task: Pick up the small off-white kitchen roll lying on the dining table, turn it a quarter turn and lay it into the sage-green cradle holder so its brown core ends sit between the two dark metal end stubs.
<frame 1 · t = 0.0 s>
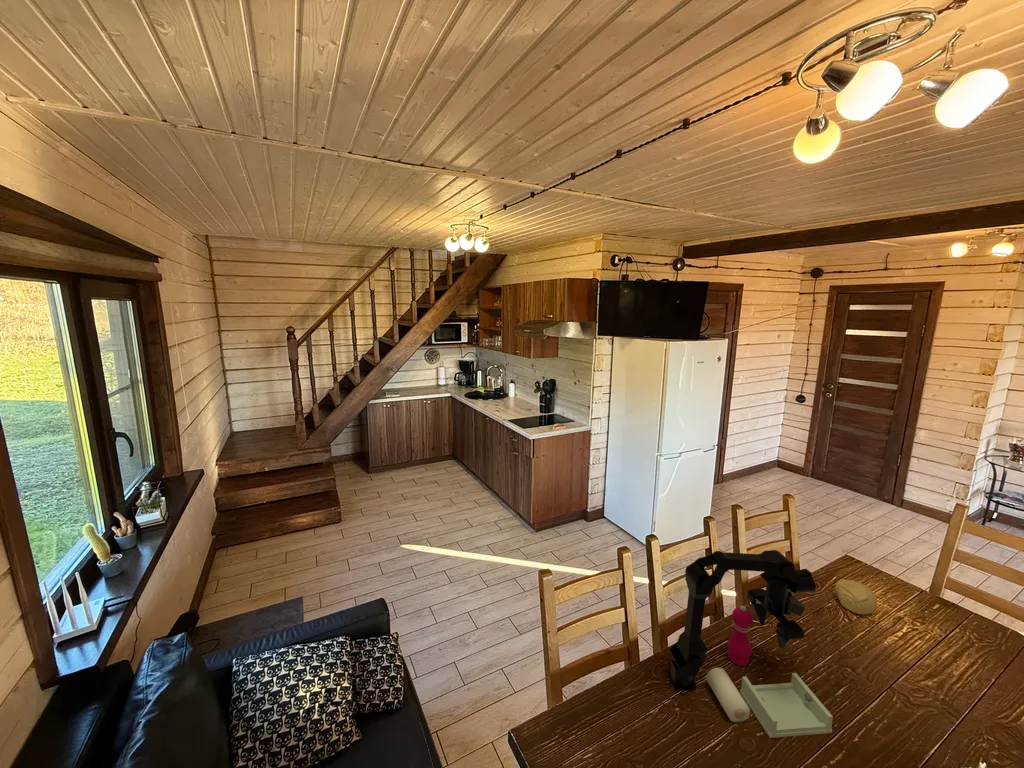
hand: (771, 635, 131), 15 cm above the table, tool pointing down, fingers open, 9 cm apart
pepper mill: (738, 658, 141), on the table
roll cradle: (783, 711, 122), on the table
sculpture: (854, 608, 163), on the table
kitchen roll: (727, 693, 125), point 3 cm above the table
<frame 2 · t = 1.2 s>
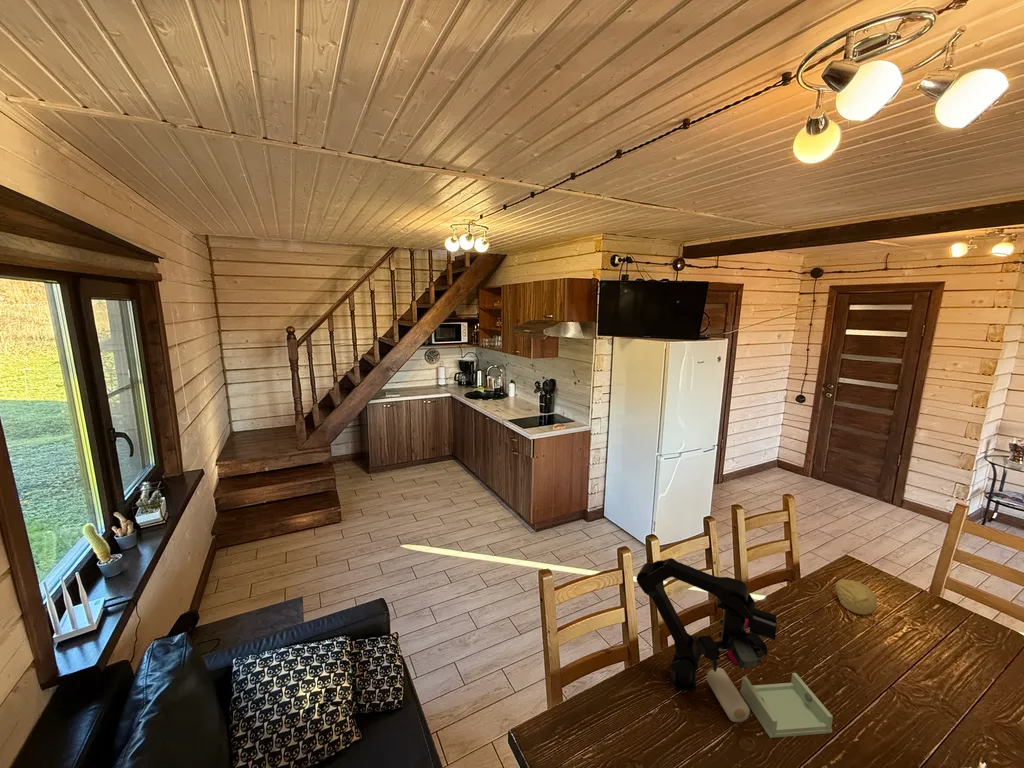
hand: (729, 669, 123), 12 cm above the table, tool pointing down, fingers open, 9 cm apart
nothing on the table moved.
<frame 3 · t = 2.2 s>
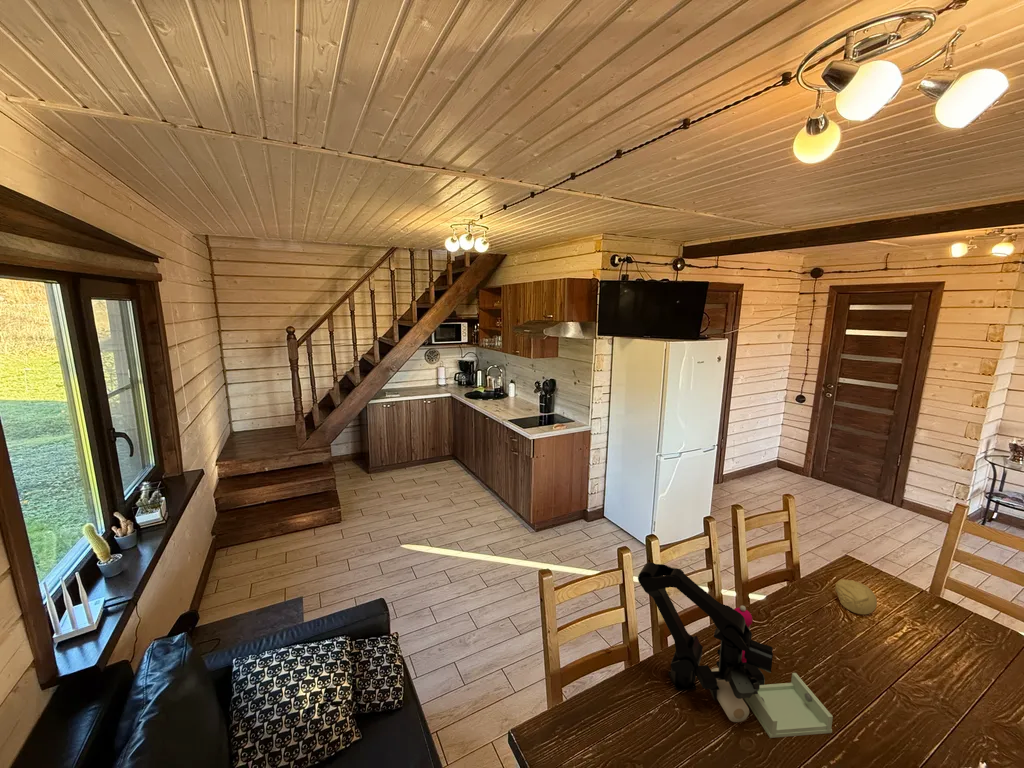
hand: (727, 698, 125), 1 cm above the table, tool pointing down, fingers open, 8 cm apart
nothing on the table moved.
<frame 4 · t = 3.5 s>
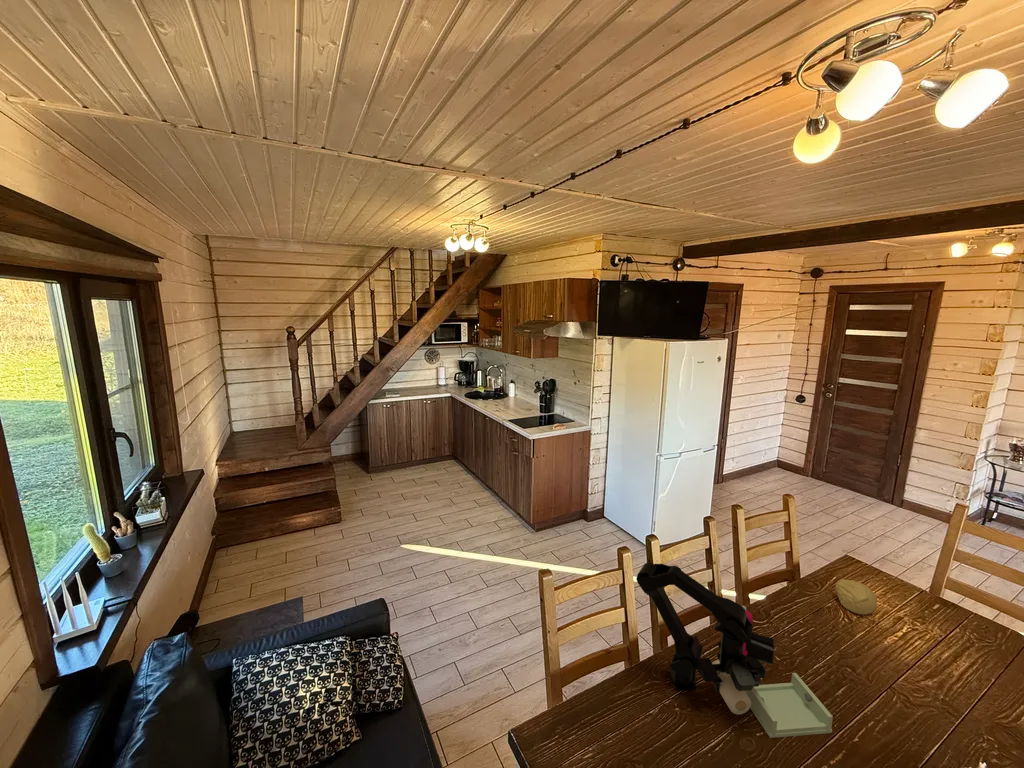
hand: (727, 691, 124), 4 cm above the table, tool pointing down, fingers closed on kitchen roll, 6 cm apart
kitchen roll: (728, 686, 124), point 6 cm above the table, touching gripper
everything else where it was.
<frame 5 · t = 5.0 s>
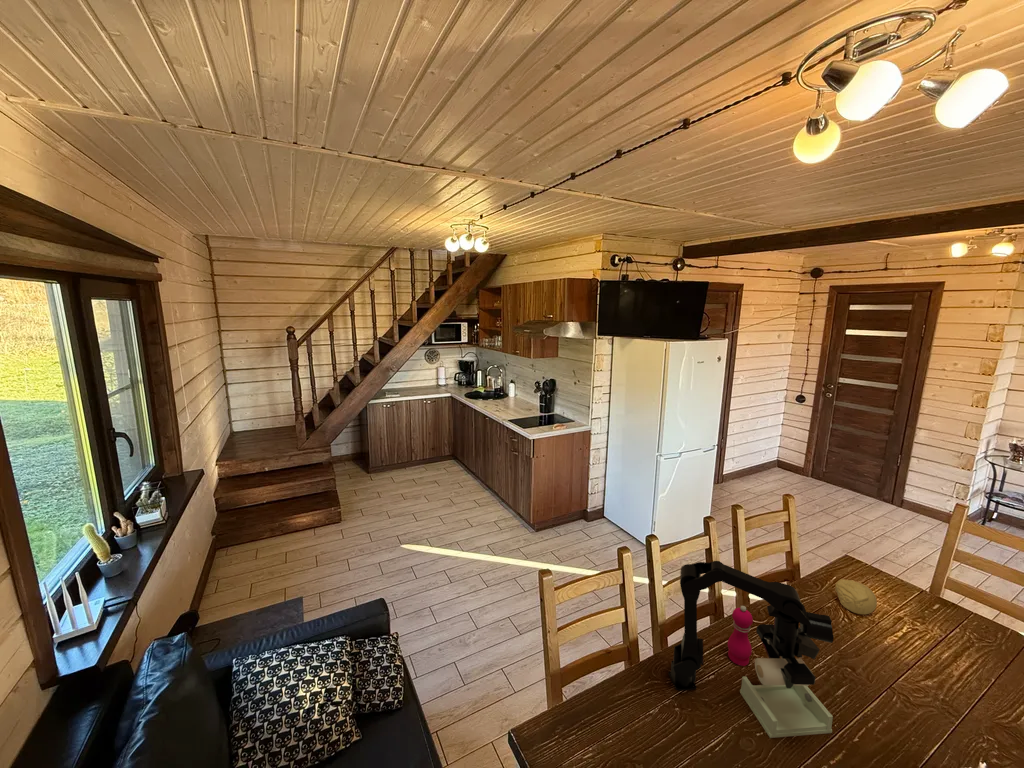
hand: (781, 677, 120), 12 cm above the table, tool pointing down, fingers closed on kitchen roll, 6 cm apart
kitchen roll: (782, 671, 120), point 14 cm above the table, touching gripper
everything else where it was.
when the fingers open (4 cm above the table, at t = 7.4 s): kitchen roll drops 1 cm, resting on roll cradle.
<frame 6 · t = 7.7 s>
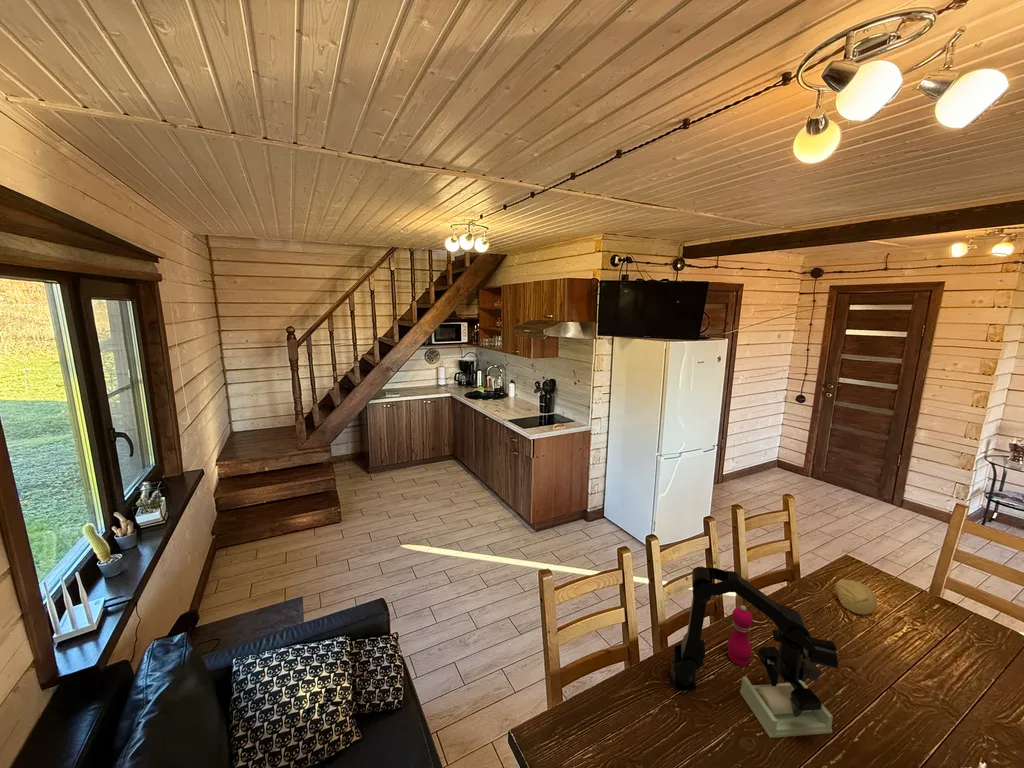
hand: (784, 700, 121), 4 cm above the table, tool pointing down, fingers open, 9 cm apart
kitchen roll: (784, 699, 121), point 4 cm above the table, touching roll cradle
everything else where it was.
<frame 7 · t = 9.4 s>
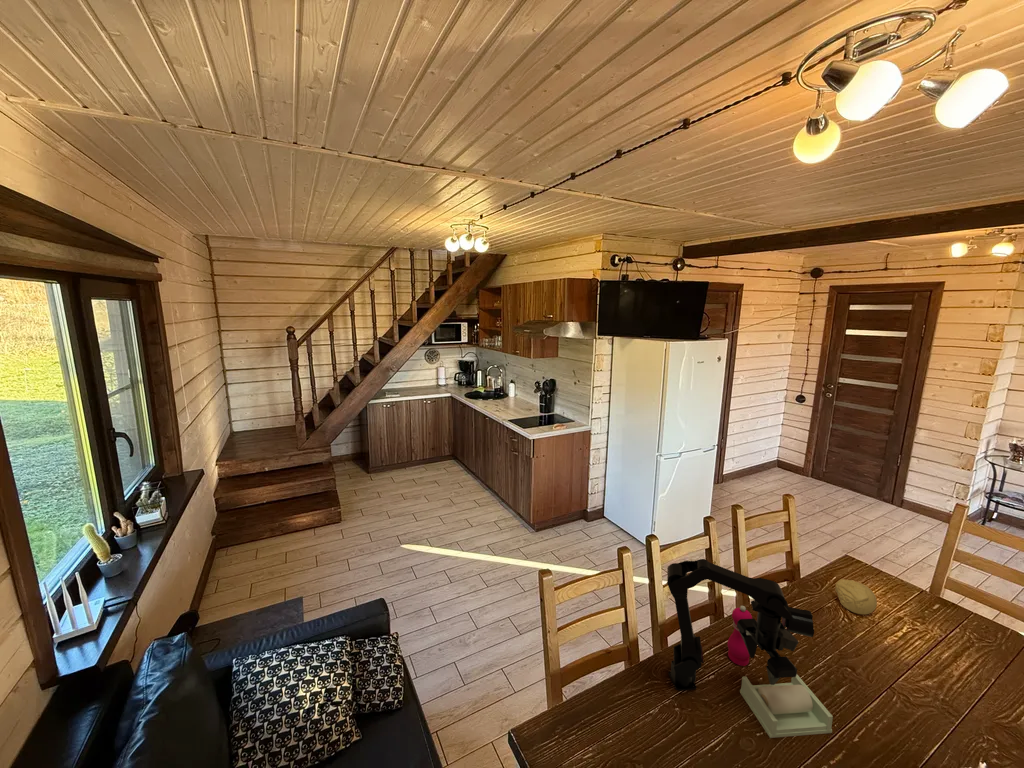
hand: (761, 670, 123), 11 cm above the table, tool pointing down, fingers open, 9 cm apart
nothing on the table moved.
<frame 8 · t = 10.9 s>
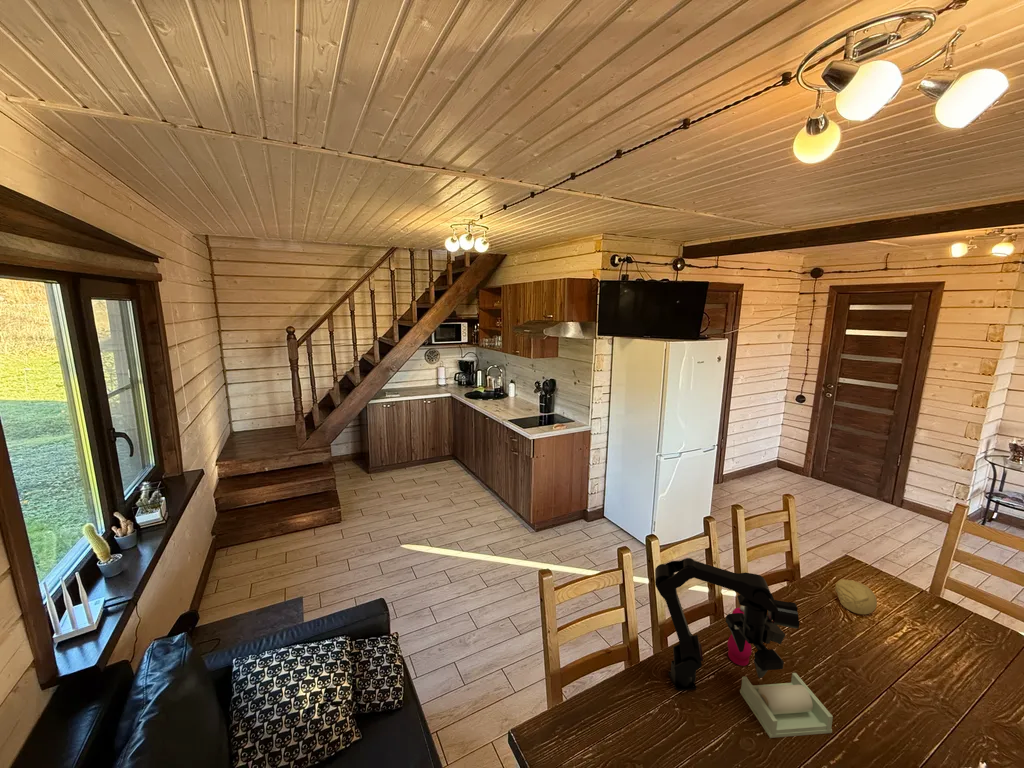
hand: (750, 664, 124), 12 cm above the table, tool pointing down, fingers open, 9 cm apart
nothing on the table moved.
at the end: kitchen roll 0.0 cm off-centre on the roll cradle, point 4.2 cm above the roll cradle's base; the gripper is holding nothing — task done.
